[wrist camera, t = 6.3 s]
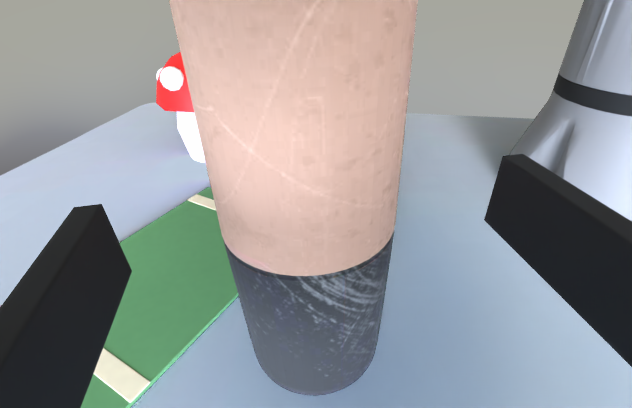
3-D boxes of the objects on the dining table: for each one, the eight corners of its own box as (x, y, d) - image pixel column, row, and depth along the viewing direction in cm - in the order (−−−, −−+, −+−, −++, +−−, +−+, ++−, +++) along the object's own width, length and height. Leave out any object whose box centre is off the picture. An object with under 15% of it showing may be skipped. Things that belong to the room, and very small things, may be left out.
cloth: (208, 189, 35) (208, 186, 35) (310, 221, 30) (310, 218, 29) (-14, 331, 21) (-17, 327, 21) (102, 437, 16) (99, 433, 16)
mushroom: (157, 171, 38) (120, 56, 32) (188, 134, 48) (164, 38, 41) (252, 168, 38) (234, 52, 32) (265, 131, 47) (253, 35, 41)
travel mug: (372, 284, 23) (401, -110, 12) (392, 401, 17) (493, -203, 6) (259, 287, 23) (189, -99, 12) (238, 403, 17) (55, -179, 6)
